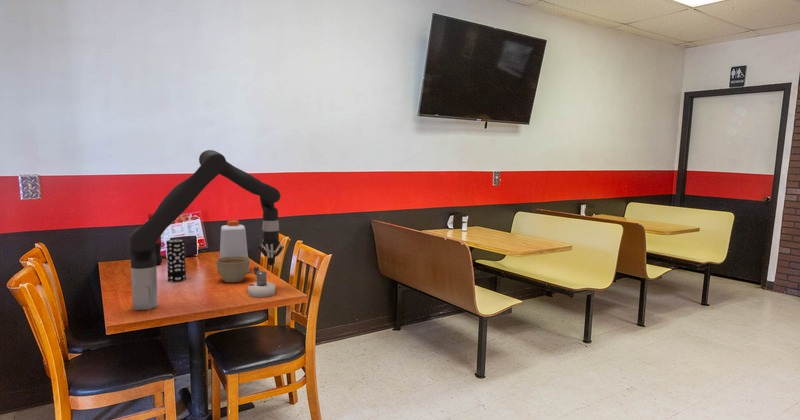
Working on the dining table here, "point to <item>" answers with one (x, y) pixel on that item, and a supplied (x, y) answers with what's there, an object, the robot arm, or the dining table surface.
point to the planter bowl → (233, 268)
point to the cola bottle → (157, 246)
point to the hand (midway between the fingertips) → (271, 265)
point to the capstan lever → (260, 277)
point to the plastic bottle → (233, 240)
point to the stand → (261, 290)
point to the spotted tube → (176, 260)
